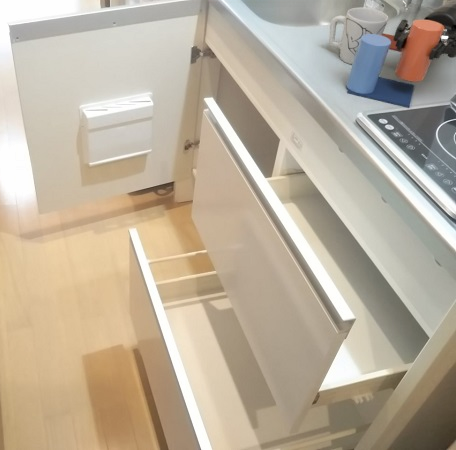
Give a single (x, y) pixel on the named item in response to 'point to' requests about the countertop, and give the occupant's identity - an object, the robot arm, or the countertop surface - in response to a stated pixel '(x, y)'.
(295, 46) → the countertop surface
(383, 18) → the mug
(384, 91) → the blue mat
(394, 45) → the terracotta mat
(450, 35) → the robot arm
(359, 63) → the light blue cylinder
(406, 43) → the tall orange cylinder
